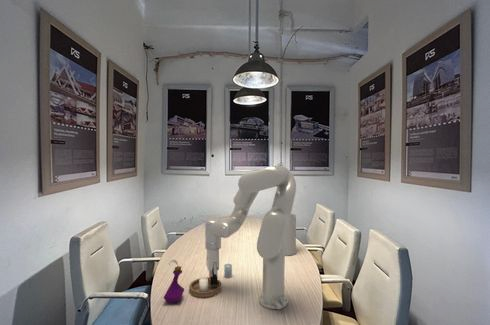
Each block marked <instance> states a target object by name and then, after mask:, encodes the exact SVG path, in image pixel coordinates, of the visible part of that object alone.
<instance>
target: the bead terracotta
mask: <svg viewBox="0 0 490 325" xmlns="http://www.w3.org/2000/svg"><path fill="white" fill-rule="evenodd" d="M212 270H214V269H212ZM218 271H219V270H217V283H218V280H219V279H218V278H219V276H218ZM213 272H214V271H213ZM208 277H209V284H210V285H211V271H208ZM216 285H217V284H216Z"/></svg>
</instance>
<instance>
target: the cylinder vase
mask: <svg viewBox="0 0 490 325" xmlns="http://www.w3.org/2000/svg"><path fill="white" fill-rule="evenodd" d="M283 234H284V236H285V240H286V248H285V257H286V256H294V255H295V254H296V252H297V215H296V214H293V213H291V215H290V221H289V224H288V225H287V227H286V228H285V230H284V233H283Z"/></svg>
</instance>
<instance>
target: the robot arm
mask: <svg viewBox="0 0 490 325" xmlns="http://www.w3.org/2000/svg"><path fill="white" fill-rule="evenodd" d="M237 184H238V190H237V192H236V194H235V196H234V197H233V203H234V208H233V210H232V212H231V214H230V215H229V217H228V218H227V219H225V220H222V221H221V219H220V218H216V217H215V218H214V217H213V218H211V217H210V218H208V219H206V220H205V223H204V225H205V226H204V228H205V229H204V230H205V232H204V233H205V235H204V236H205V241H204V244H205V245H204V246H205V248H204V249H205V250H206V261H205V262H206V264H205V265H206V268H207V270H208V272H209V271H211V285H216V284H217V271H219V269H220V250H221V248H222V238H223V239H227V238H230V237H231V236H232V235H234V234H235V233H237V232H238V231H239V230H240V228H241V227H242V225H243V224H244V222H245V220H246V219H247V217H248V214H249V212H250V208H251V207H252V205H253V203H254V201H255V199H256V198H257V196H258V194H259V193H260V192H261V191H264V190H268V189H272V188H275V187H276V191H275V192H274V196H273V201H272V205H271V209H269V211H267V212H266V213H265V215H264V216H263V219H262V221H261V225H260V228H259V232H258V237H257V241H256V250H257V253H258V255H259V256H260V257H261V259H262V294H260V295H259V298H258V301H259V304H260V305H261V306H262V307H263V308H266V309H269V310H281V309H283V308H286V307H287V306H288V304H289V299H288V297H287V296H286V295H285V267H286V266H285V263H286V262H285V257H286V256H285V248H286V240H285V236H284V234H283V233H284V230H285V228H286V227H287V225H288V224H289V221H290V215H291V214H292V211H293V210H292V209H293V208H294V207H293V206H294V201H295V196H296V194H297V193H296V192H297V182H296V179H295V175H294V174H293V173H292V172H291V171H290V169H288V168H287V167H286V166H283V165H271V166H267V167H264V168H260V169H257V170H253V171H251V172H247V173H244V174H242V175H241V176H240V178H239V179H238V182H237ZM212 269H214V270H212ZM213 271H214V272H213Z"/></svg>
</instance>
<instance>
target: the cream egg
mask: <svg viewBox="0 0 490 325" xmlns="http://www.w3.org/2000/svg"><path fill="white" fill-rule="evenodd" d="M206 277H207V276H206ZM206 277H203V276H202V277H201V278H200V277H199V278H200V279H199V278H198V279H199V292H208V278H206Z"/></svg>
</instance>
